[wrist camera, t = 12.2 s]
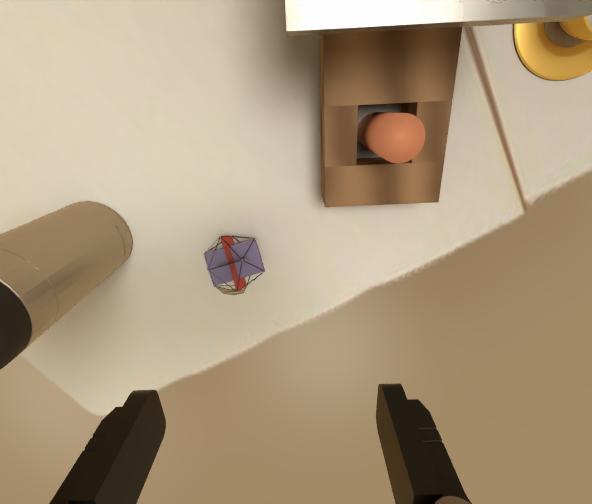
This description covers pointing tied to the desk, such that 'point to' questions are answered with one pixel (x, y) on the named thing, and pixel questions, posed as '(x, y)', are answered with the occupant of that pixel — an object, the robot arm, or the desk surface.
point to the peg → (392, 135)
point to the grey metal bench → (422, 14)
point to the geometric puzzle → (234, 263)
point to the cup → (555, 49)
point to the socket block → (385, 90)
